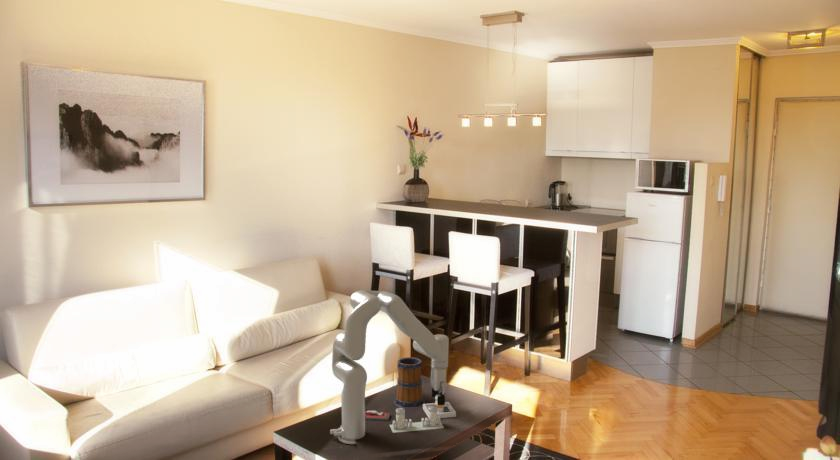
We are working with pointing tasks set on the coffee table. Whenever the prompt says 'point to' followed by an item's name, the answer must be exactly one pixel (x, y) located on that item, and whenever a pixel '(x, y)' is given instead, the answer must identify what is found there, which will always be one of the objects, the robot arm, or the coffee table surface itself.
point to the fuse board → (416, 425)
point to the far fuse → (432, 415)
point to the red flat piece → (376, 416)
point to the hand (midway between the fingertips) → (438, 400)
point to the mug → (409, 383)
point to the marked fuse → (439, 406)
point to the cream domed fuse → (400, 418)
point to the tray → (441, 415)
